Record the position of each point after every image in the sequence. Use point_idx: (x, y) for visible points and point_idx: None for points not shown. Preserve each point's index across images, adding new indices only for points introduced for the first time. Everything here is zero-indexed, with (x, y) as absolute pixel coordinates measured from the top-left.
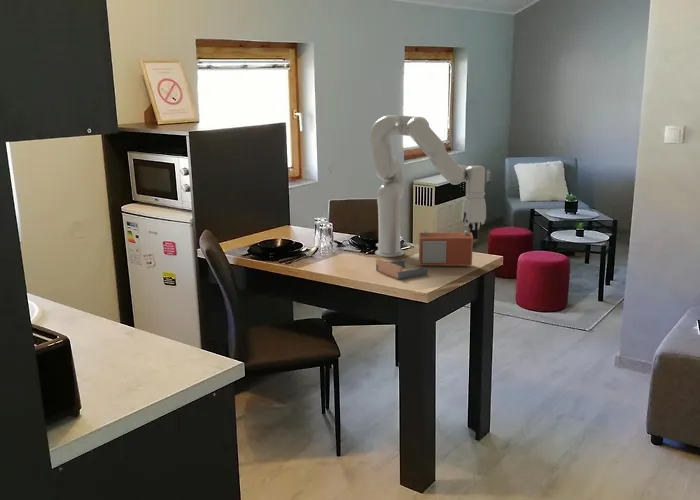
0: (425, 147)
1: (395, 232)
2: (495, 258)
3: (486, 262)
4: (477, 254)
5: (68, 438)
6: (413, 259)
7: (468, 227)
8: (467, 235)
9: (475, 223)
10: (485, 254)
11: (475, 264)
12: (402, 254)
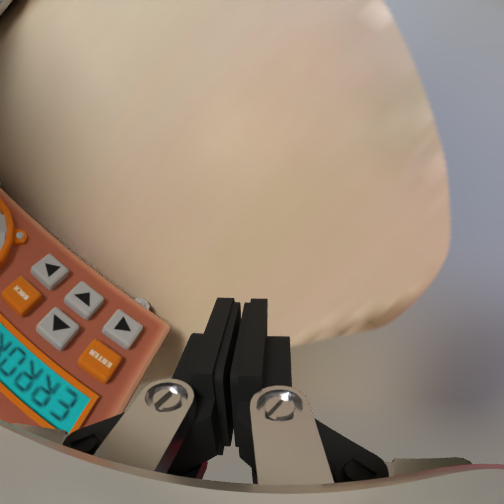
0: None
1: None
2: (409, 287)
3: (291, 330)
4: (409, 132)
5: None
6: (16, 59)
7: (115, 417)
8: None
9: (295, 483)
10: (445, 169)
11: (204, 327)
12: (1, 11)
